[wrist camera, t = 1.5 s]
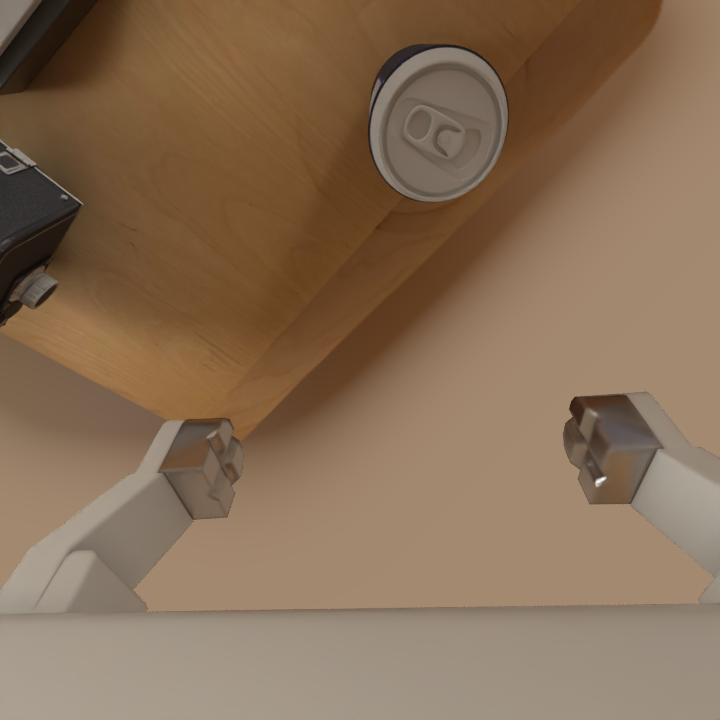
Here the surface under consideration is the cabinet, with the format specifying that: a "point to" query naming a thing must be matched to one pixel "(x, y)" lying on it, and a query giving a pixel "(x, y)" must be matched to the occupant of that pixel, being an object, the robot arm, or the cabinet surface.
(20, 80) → the scale
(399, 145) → the beverage can
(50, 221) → the camera
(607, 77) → the cabinet surface
